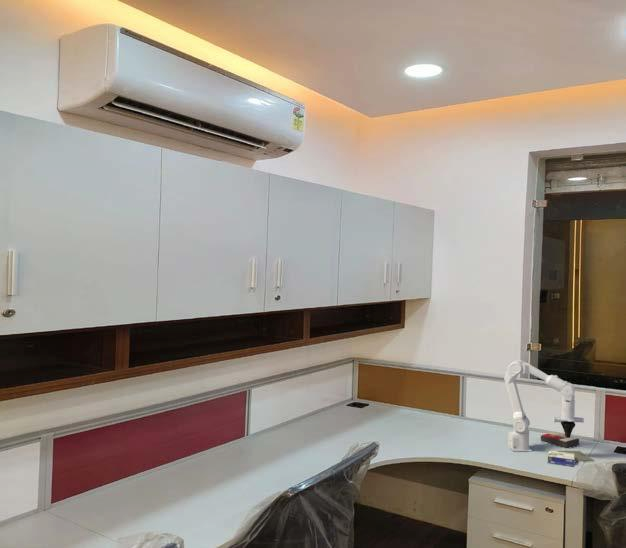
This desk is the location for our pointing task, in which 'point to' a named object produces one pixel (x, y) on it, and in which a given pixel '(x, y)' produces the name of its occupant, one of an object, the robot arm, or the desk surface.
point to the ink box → (561, 458)
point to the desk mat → (579, 455)
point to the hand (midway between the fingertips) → (567, 437)
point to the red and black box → (560, 440)
